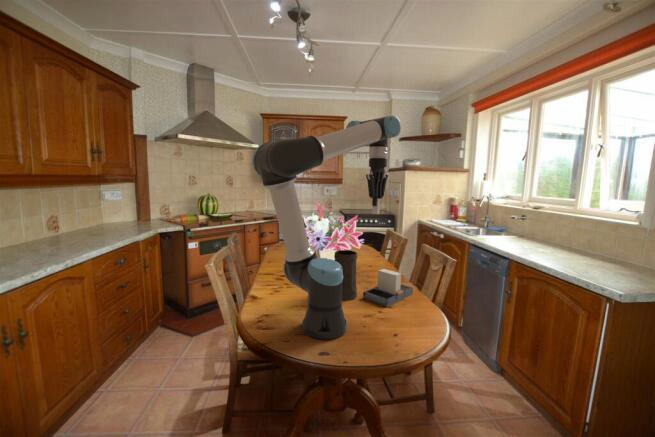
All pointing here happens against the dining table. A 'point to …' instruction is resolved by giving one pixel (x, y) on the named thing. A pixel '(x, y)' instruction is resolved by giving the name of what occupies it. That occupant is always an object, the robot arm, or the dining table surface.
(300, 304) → the dining table surface
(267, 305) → the dining table surface
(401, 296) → the dark grey compartment tray
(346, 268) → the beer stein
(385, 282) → the white rectangular block
